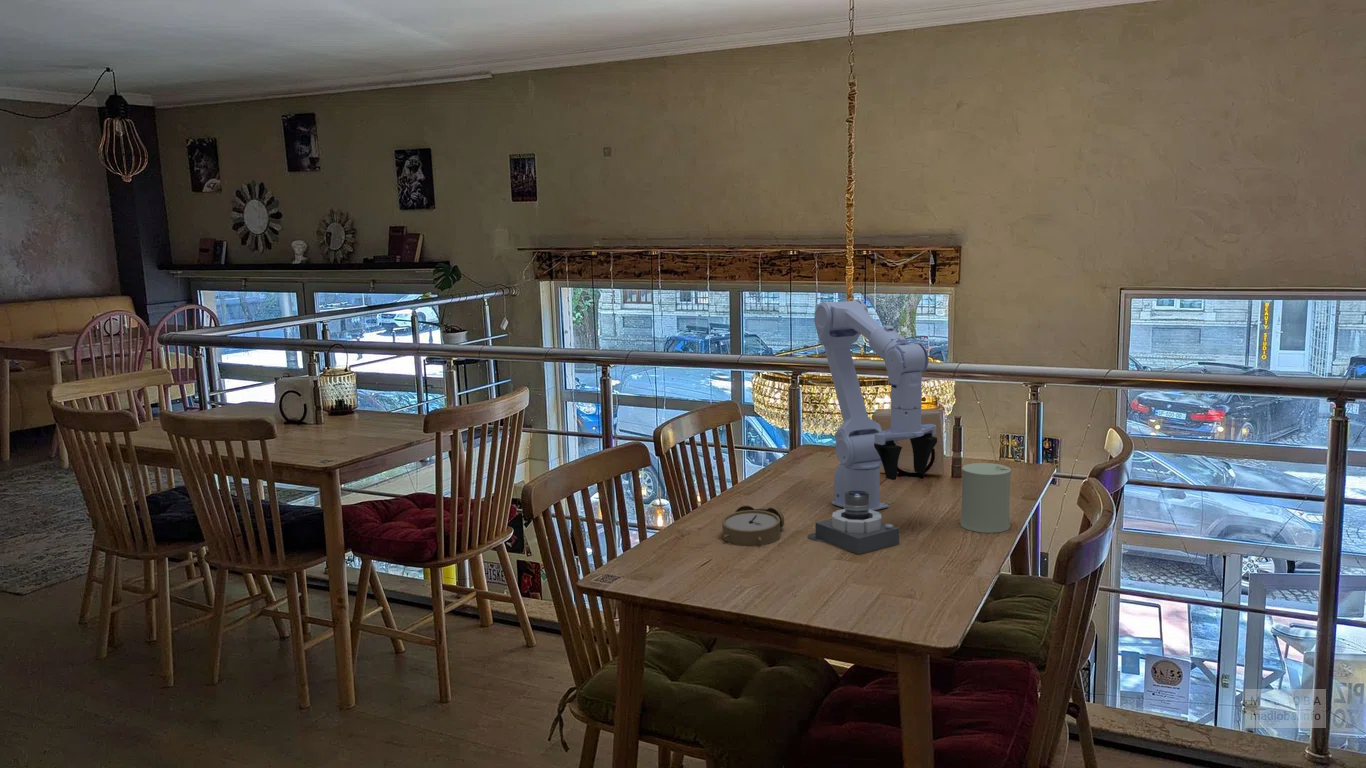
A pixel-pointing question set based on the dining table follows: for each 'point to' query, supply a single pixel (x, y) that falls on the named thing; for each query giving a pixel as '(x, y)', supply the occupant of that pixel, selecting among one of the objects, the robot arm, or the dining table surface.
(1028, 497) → the dining table surface
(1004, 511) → the can
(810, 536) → the lens cap
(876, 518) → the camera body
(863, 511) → the lens
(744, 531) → the alarm clock
